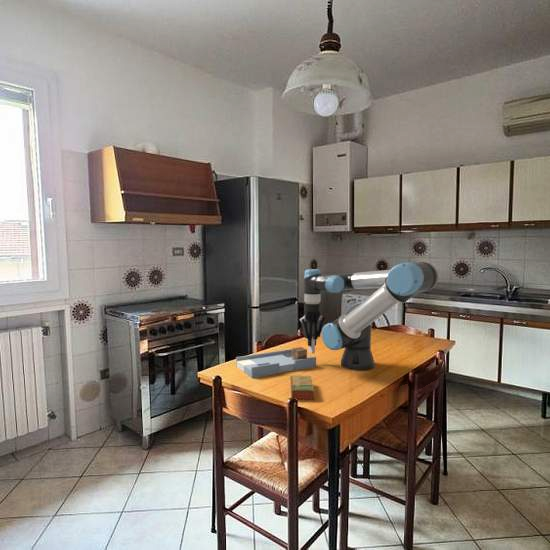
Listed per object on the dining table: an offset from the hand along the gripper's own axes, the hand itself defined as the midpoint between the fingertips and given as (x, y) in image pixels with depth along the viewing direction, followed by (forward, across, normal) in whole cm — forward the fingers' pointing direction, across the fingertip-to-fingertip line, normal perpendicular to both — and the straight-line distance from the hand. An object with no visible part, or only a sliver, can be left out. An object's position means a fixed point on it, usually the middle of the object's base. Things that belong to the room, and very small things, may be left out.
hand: (311, 352), depth 187 cm
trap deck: (+5, +17, -4) cm, 18 cm away
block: (+2, +7, 0) cm, 7 cm away
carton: (+6, +23, +28) cm, 37 cm away
